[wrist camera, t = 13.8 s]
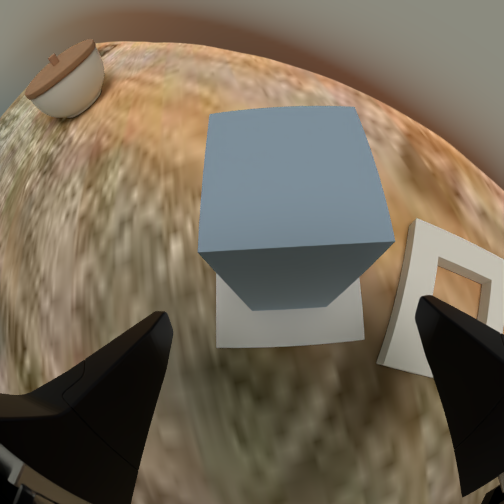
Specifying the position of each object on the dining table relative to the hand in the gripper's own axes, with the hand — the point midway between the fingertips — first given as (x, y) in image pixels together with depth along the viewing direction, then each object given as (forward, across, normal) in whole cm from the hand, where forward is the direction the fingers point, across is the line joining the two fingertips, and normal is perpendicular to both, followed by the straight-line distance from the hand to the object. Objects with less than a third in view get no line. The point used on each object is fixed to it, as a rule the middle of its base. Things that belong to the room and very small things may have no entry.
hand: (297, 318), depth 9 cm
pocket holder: (+7, -13, +7) cm, 16 cm away
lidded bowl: (+30, +29, -16) cm, 45 cm away
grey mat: (+10, 0, +4) cm, 10 cm away
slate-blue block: (+9, 0, +4) cm, 10 cm away
